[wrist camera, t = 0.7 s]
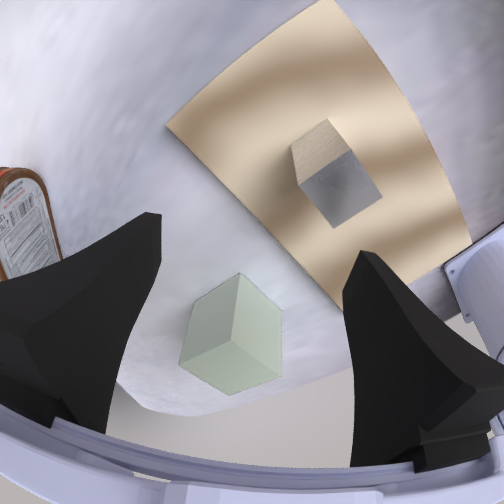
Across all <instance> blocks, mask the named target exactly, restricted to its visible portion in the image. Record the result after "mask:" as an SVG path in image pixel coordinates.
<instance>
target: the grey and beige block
mask: <svg viewBox="0 0 504 504" xmlns="http://www.w3.org/2000/svg"><path fill="white" fill-rule="evenodd" d="M291 148H292V153H293V159H294V164H295V170H296V176H297V182H298V186H299V187H300V188H301V189H302V191H303V192H304V193H305V194H306V195H307V197H308V198H309V199H310V200H311V202H312V203H313V204H314V205H315V206H316V208H317V209H318V210H319V211H320V213H321V214H322V215H323V216H324V218H325V219H326V220H327V221H328V223H329V224H330V225H331V227H332V228H333V229H335V228H336V227H338V226H339V225H341V224H342V223H344V222H345V221H347V220H349V219H350V218H352V217H353V216H355V215H356V214H358V213H359V212H361V211H363V210H364V209H366V208H367V207H369V206H370V205H372V204H373V203H375V202H376V201H378V200H379V199H381V198H382V197H383V196H382V195H381V193H380V192H379V190H378V188H377V187H376V185H375V184H374V182H373V181H372V179H371V178H370V176H369V174H368V173H367V171H366V170H365V168H364V167H363V165H362V164H361V163H360V161H359V160H358V158H357V157H356V155H355V154H354V152H353V151H352V150H351V148H350V147H349V146H348V144H347V143H346V142H345V140H344V139H343V138H342V136H341V135H340V134H339V133H338V131H337V130H336V129H335V128H334V126H333V125H332V124H331V123H330V121H329V120H328V119H326V120H324V121H323V122H321V123H320V124H318V125H317V126H316V127H314V128H313V129H311V130H310V131H309V132H307V133H306V134H304V135H303V136H302V137H300V138H299V139H298V140H296V141H295V142H293V143H292V144H291Z"/></svg>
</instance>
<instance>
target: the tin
mask: <svg viewBox="0 0 504 504" xmlns="http://www.w3.org/2000/svg"><path fill="white" fill-rule="evenodd" d="M61 260H63V259H62V255H61V251H60V247H59V243H58V239H57V235H56V231H55V227H54V222H53V218H52V213H51V208H50V203H49V198H48V194H47V191H46V188H45V185H44V183H43V182H42V180H41V178H40V177H39V176H38V175H37V174H36V173H35V172H33V171H32V170H30V169H26V168H9V167H0V281H4V280H8V279H12V278H15V277H18V276H22V275H25V274H28V273H31V272H33V271H36V270H39V269H41V268H44V267H46V266H49V265H51V264H54V263H56V262H58V261H61Z"/></svg>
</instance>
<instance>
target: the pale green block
mask: <svg viewBox="0 0 504 504" xmlns="http://www.w3.org/2000/svg"><path fill="white" fill-rule="evenodd" d="M178 365H179V366H180V367H182V368H184V369H185V370H187V371H188V372H190V373H191V374H193V375H195V376H196V377H198V378H199V379H201V380H203V381H204V382H206V383H208V384H209V385H211V386H213V387H214V388H216V389H218V390H220V391H221V392H223V393H225V394H226V395H228V396H229V395H232V394H235V393H238V392H241V391H244V390H247V389H250V388H252V387H255V386H258V385H261V384H263V383H266V382H269V381H271V380H274V379H276V378H279V377H281V376H282V310H281V309H280V308H279V307H278V306H277V305H276V304H275V303H273V302H272V301H271V300H270V299H269V298H268V297H267V296H266V295H265V294H264V293H262V292H261V291H260V290H259V289H258V288H257V287H256V286H255V285H254V284H253V283H252V282H250V281H249V280H248V279H247V278H246V277H245V276H244V275H243V274H242V273H241V272H240V273H238V274H237V275H235V276H234V277H232V278H231V279H229V280H228V281H226V282H224V283H223V284H221V285H220V286H218V287H217V288H215V289H214V290H212V291H210V292H209V293H207V294H206V295H204V296H203V297H201V298H199V299H198V300H196V301H195V303H194V307H193V310H192V314H191V318H190V321H189V325H188V329H187V332H186V336H185V340H184V344H183V348H182V351H181V355H180V359H179V363H178Z"/></svg>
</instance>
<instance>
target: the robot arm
mask: <svg viewBox="0 0 504 504" xmlns="http://www.w3.org/2000/svg"><path fill="white" fill-rule="evenodd" d="M161 219H162V215H161V214H155V213H148V212H145V213H143V214H141V215H139V216H138V217H136V218H134V219H133V220H131V221H130V222H128V223H126V224H125V225H123V226H122V227H120V228H118V229H117V230H115V231H114V232H112V233H110V234H109V235H107V236H106V237H104V238H102V239H100V240H99V241H97V242H95V243H93V244H92V245H90V246H88V247H87V248H85V249H83V250H81V251H79V252H77V253H75V254H73V255H71V256H69V257H67V258H65V259H63V260H61V261H58V262H56V263H54V264H51V265H49V266H46V267H44V268H41V269H39V270H36V271H33V272H31V273H28V274H25V275H22V276H18V277H15V278H12V279H8V280H4V281H0V474H1V475H2V476H4V477H5V478H7V479H9V480H10V481H12V482H14V483H15V484H17V485H19V486H20V487H22V488H24V489H26V490H27V491H29V492H31V493H33V494H35V495H37V496H39V497H40V498H42V499H44V500H46V501H48V502H50V503H52V504H496V503H498V502H500V501H502V500H504V224H502V225H501V226H500V227H498V228H497V229H496V230H494V231H493V232H491V233H490V234H489V235H487V236H486V237H484V238H483V239H481V240H480V241H479V242H477V243H476V244H474V245H473V246H471V247H470V248H468V249H467V250H465V251H464V252H462V253H461V254H459V255H458V256H456V257H455V258H453V259H452V260H450V261H449V262H447V263H446V264H445V266H444V269H445V272H446V274H447V276H448V279H449V281H450V284H451V286H452V289H453V291H454V294H455V296H456V299H457V302H458V304H459V307H460V310H461V313H462V315H463V318H464V321H465V322H466V323H469V322H471V321H474V323H475V325H476V327H477V329H478V331H479V333H480V335H481V337H482V339H483V341H484V343H485V346H486V348H487V350H488V352H489V354H490V357H489V356H488V355H486V354H485V353H483V352H482V351H480V350H479V349H477V348H476V347H474V346H473V345H471V344H470V343H468V342H467V341H466V340H464V339H463V338H462V337H461V336H459V335H458V334H457V333H456V332H454V331H453V330H452V329H451V328H449V327H448V326H447V325H446V324H445V323H444V322H443V321H441V320H440V319H439V318H438V317H437V316H436V315H435V314H434V313H433V312H432V311H431V310H429V309H428V308H427V307H426V306H425V304H424V303H423V302H422V301H421V300H420V299H419V298H418V297H417V296H416V295H415V294H414V293H413V292H412V291H411V290H410V289H409V288H408V287H407V286H406V285H405V283H404V282H403V281H402V280H401V279H400V278H399V277H398V276H397V275H396V274H395V272H394V271H393V270H392V269H391V268H390V267H389V266H388V265H387V264H386V263H385V262H384V261H383V260H382V259H381V258H380V257H379V256H378V255H377V254H376V253H374V252H369V251H364V250H360V252H359V254H358V256H357V259H356V261H355V263H354V266H353V268H352V270H351V272H350V275H349V277H348V279H347V281H346V284H345V286H344V288H343V290H342V301H343V315H344V321H345V326H346V332H347V337H348V342H349V348H350V353H351V359H352V365H353V373H354V394H355V406H354V407H355V410H354V411H355V412H354V432H353V445H352V453H351V461H350V468H284V467H267V466H255V465H245V464H236V463H228V462H221V461H214V460H207V459H201V458H196V457H190V456H185V455H180V454H175V453H170V452H166V451H162V450H158V449H153V448H149V447H145V446H142V445H138V444H134V443H131V442H127V441H124V440H120V439H117V438H114V437H111V436H108V435H105V433H106V427H107V421H108V414H109V409H110V404H111V399H112V395H113V391H114V386H115V382H116V378H117V375H118V371H119V367H120V364H121V360H122V357H123V354H124V350H125V347H126V344H127V341H128V338H129V336H130V333H131V331H132V328H133V326H134V324H135V322H136V320H137V318H138V315H139V313H140V311H141V309H142V307H143V305H144V303H145V301H146V299H147V297H148V295H149V292H150V290H151V288H152V286H153V284H154V281H155V278H156V276H157V273H158V270H159V267H160V264H161ZM451 270H452V271H451ZM491 429H492V431H493V433H494V434H495V437H493V438H491V439H489V440H488V437H487V434H486V433H488V432H489V431H491ZM130 470H131V471H130ZM132 471H135V472H139V473H142V474H146V475H150V476H154V477H158V478H162V479H167V480H171V482H170V483H167V482H161V481H155V480H150V479H145V478H140V477H135V476H134V474H133V472H132Z"/></svg>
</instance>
